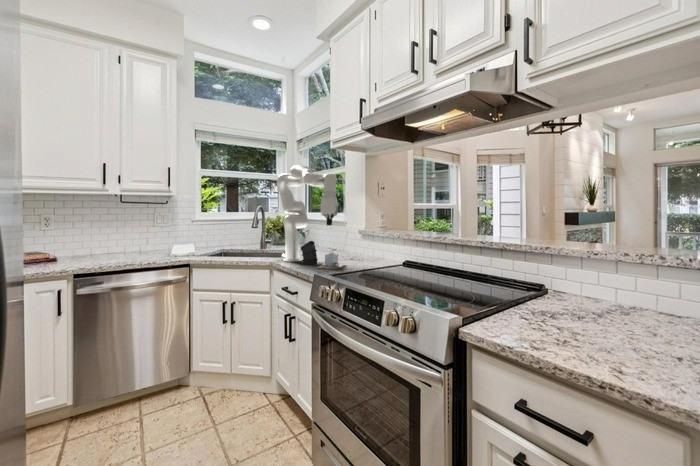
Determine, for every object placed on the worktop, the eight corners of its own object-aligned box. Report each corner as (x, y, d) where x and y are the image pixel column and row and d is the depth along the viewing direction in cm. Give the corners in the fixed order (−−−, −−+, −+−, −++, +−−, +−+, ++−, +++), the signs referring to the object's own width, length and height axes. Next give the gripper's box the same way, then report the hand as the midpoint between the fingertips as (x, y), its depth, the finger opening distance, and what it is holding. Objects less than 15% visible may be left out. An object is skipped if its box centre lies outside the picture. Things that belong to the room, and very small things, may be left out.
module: (325, 266, 198) (324, 253, 197) (331, 264, 204) (331, 251, 204) (332, 266, 196) (332, 253, 195) (338, 265, 202) (338, 252, 201)
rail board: (317, 268, 196) (317, 264, 196) (329, 265, 209) (329, 261, 209) (334, 270, 191) (334, 265, 191) (346, 266, 203) (346, 262, 203)
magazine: (316, 262, 207) (309, 240, 210) (304, 269, 215) (298, 248, 219) (320, 262, 209) (314, 240, 213) (309, 268, 218) (302, 247, 222)
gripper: (315, 194, 199) (315, 225, 201) (337, 194, 192) (336, 226, 194) (322, 195, 206) (322, 224, 207) (343, 195, 199) (343, 225, 200)
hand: (329, 225), depth 201 cm, fingers closed
